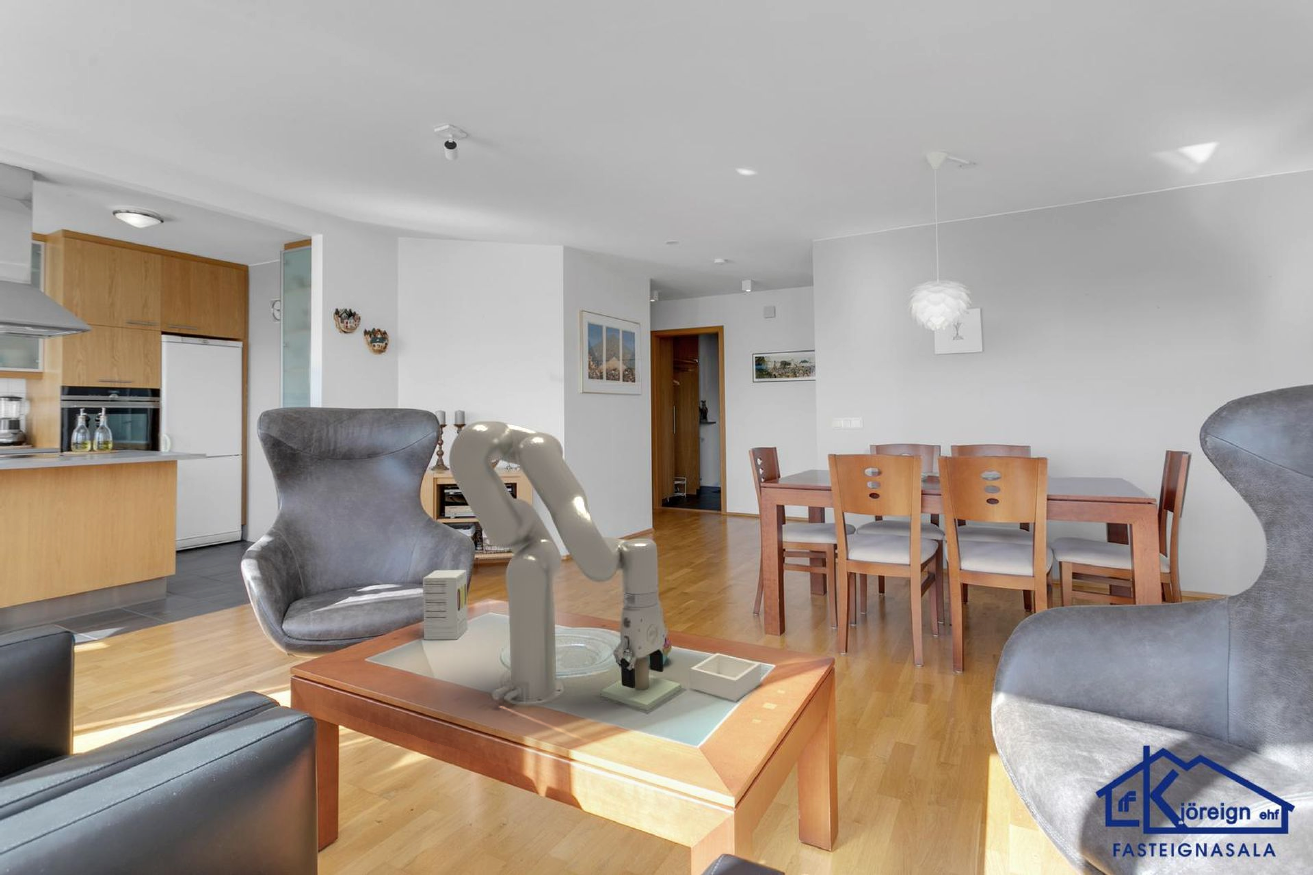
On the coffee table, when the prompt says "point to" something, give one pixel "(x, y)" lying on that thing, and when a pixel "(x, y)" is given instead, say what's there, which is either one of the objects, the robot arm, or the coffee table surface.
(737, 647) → the coffee table surface
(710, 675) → the white square box
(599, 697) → the mat
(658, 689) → the lid
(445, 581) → the supplement box
